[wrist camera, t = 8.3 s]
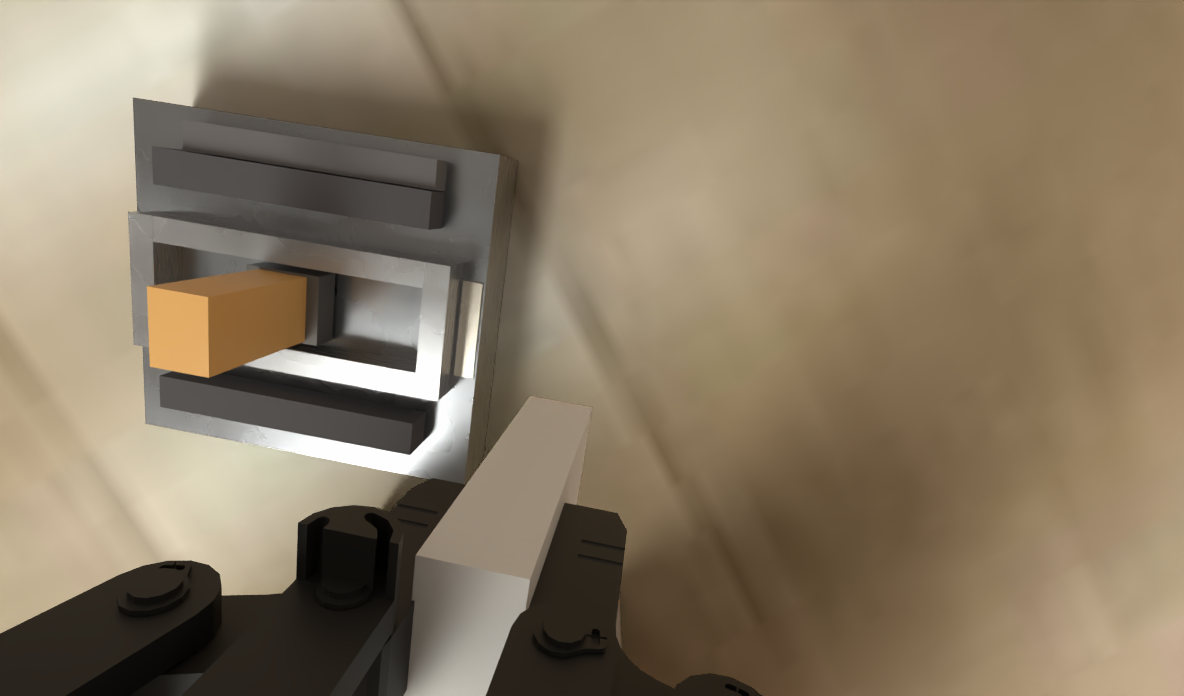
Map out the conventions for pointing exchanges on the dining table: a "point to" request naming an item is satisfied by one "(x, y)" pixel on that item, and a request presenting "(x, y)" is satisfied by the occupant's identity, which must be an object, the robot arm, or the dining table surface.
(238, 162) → the grey slider track plate
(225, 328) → the breaker lever
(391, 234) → the frame
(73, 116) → the dining table surface
